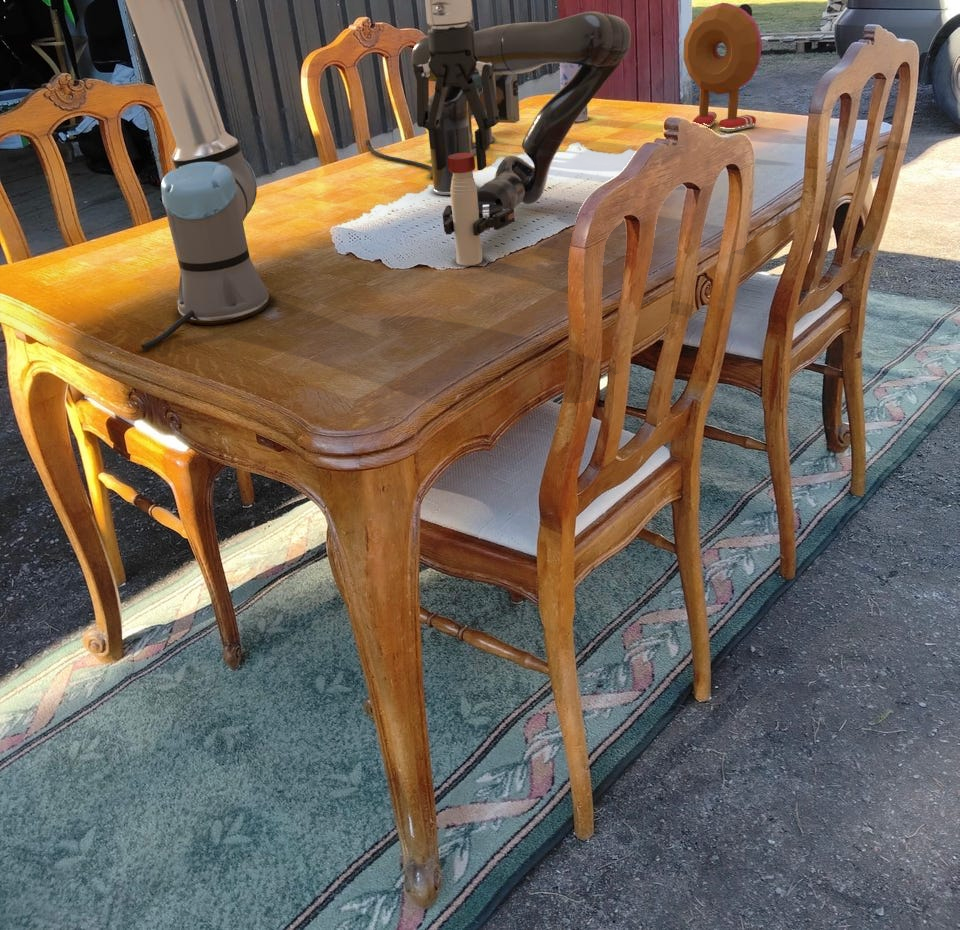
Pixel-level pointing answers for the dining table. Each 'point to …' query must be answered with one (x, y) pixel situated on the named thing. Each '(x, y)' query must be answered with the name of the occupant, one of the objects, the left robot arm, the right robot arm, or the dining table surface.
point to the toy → (723, 59)
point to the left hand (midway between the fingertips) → (461, 167)
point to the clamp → (499, 101)
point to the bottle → (465, 219)
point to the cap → (461, 162)
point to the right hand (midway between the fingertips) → (461, 229)
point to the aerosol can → (565, 75)
